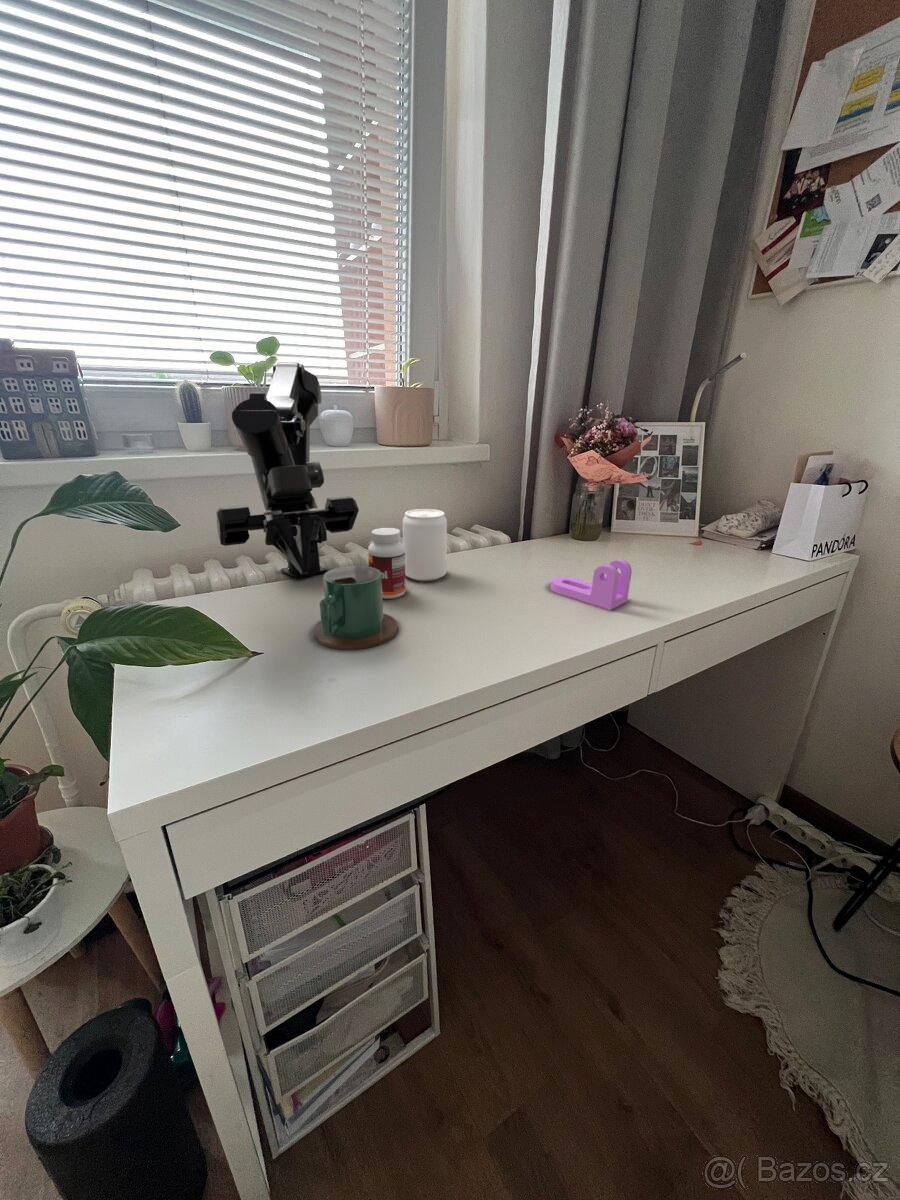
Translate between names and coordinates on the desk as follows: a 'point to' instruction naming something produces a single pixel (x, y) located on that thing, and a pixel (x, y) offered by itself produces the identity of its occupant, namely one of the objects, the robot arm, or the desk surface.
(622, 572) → the bracket
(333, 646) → the coaster
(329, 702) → the desk surface
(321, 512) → the robot arm
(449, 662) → the desk surface
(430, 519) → the beverage can
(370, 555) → the pill bottle
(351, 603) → the mug
